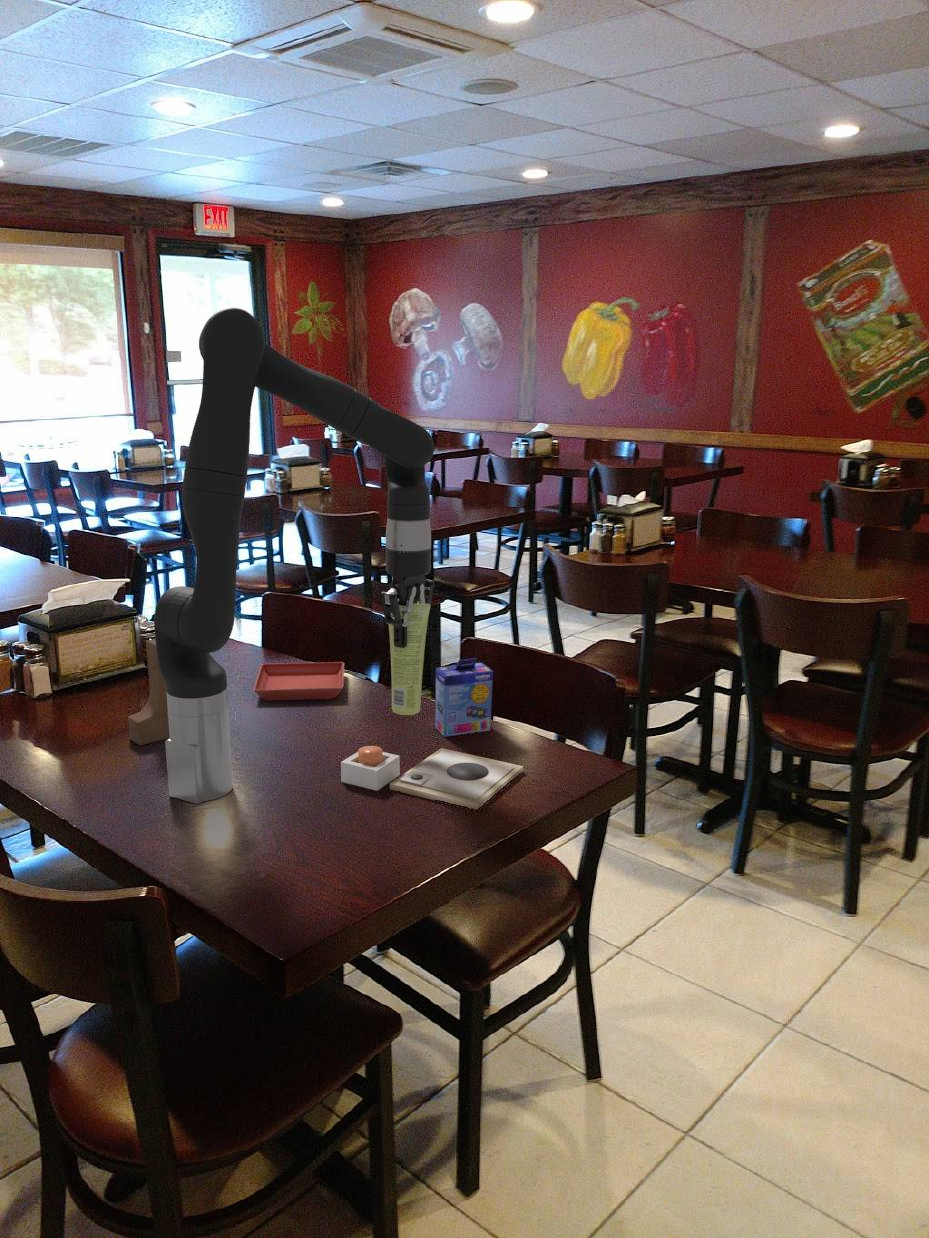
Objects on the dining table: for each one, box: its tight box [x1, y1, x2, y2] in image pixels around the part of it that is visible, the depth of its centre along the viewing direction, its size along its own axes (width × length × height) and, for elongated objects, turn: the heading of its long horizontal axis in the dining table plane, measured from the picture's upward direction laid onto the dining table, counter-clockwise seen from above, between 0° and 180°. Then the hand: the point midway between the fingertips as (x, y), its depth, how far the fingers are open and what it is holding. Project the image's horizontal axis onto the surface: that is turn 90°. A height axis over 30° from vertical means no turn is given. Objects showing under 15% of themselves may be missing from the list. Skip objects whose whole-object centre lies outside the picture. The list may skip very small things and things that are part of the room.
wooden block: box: [127, 638, 170, 746], centre depth 176 cm, size 9×4×18 cm, turn 132°
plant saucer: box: [253, 661, 345, 701], centre depth 205 cm, size 18×18×3 cm
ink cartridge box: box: [434, 657, 494, 738], centre depth 182 cm, size 10×6×14 cm, turn 113°
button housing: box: [340, 751, 401, 791], centre depth 161 cm, size 7×7×4 cm
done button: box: [357, 745, 384, 767], centre depth 161 cm, size 4×4×4 cm
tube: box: [388, 603, 431, 716], centre depth 167 cm, size 6×5×20 cm
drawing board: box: [389, 747, 524, 809], centre depth 161 cm, size 17×16×2 cm
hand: (408, 643), depth 166 cm, fingers closed on tube, 4 cm apart
